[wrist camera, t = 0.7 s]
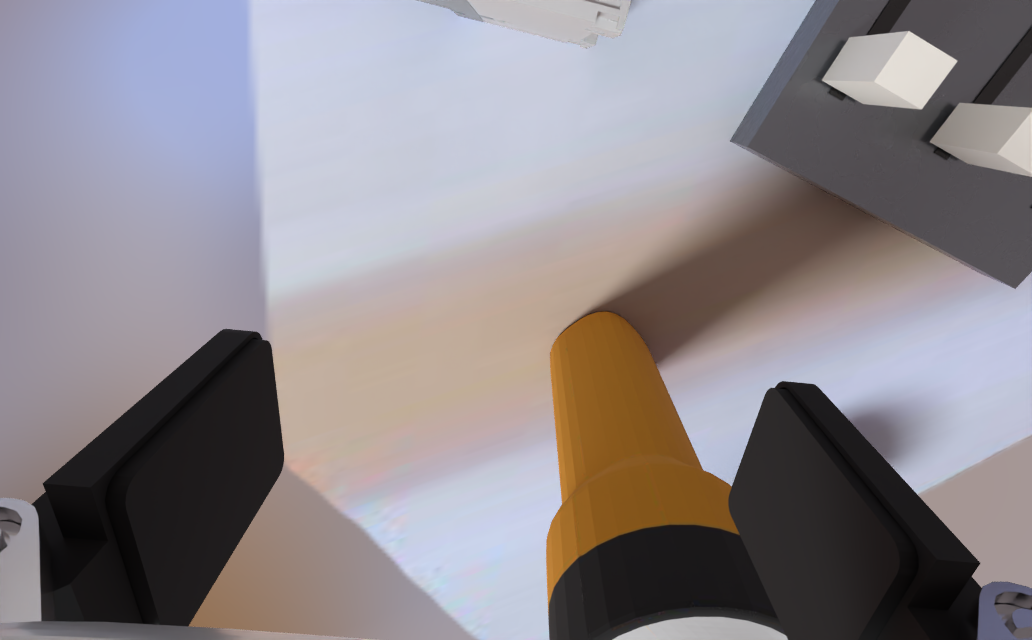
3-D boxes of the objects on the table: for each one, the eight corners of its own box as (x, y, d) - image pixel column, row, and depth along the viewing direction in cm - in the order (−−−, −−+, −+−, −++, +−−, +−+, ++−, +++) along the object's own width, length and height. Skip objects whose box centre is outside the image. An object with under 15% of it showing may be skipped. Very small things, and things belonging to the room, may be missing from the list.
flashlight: (748, 572, 16) (889, 724, 19) (614, 271, 39) (686, 362, 42) (494, 697, 18) (654, 810, 22) (511, 347, 42) (586, 426, 45)
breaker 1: (849, 37, 29) (908, 31, 25) (891, 62, 30) (957, 60, 25) (821, 80, 30) (873, 81, 26) (863, 104, 31) (921, 109, 26)
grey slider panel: (955, -228, 27) (1004, -263, 24) (1243, -18, 31) (1315, -27, 28) (730, 141, 35) (747, 147, 32) (981, 273, 39) (1016, 289, 36)
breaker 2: (959, 102, 31) (1035, 107, 26) (998, 125, 31) (1078, 134, 27) (929, 141, 32) (997, 153, 27) (967, 163, 32) (1040, 178, 28)
